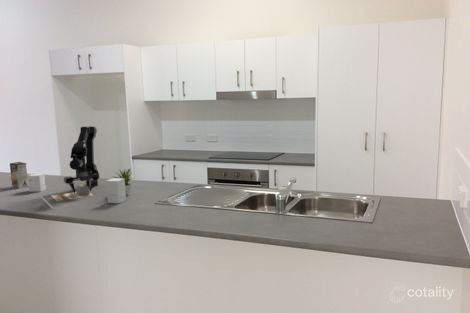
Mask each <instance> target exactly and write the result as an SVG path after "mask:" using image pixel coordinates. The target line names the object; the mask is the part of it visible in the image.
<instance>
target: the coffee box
mask: <svg viewBox="0 0 470 313" xmlns="http://www.w3.org/2000/svg"><path fill="white" fill-rule="evenodd" d="M9 170H10V177H11V178H10V179H11V180H10V181H11V187H12V188H16V189H23V188H24V189H25V188H29V185H28V172H27V170H28V169H27V162H22V161H17V162H10V163H9Z"/></svg>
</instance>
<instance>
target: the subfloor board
mask: <svg viewBox="0 0 470 313" xmlns="http://www.w3.org/2000/svg"><path fill="white" fill-rule="evenodd" d="M93 196H94V194H92V193H91V192H89V195H83V196H80V195H78V194H77V193H76V191H75V194H74V192H73V191H72V192H66V193H59V194H53V195H51V197H52V198H53V199H54V200H55V201H56V202H61V201H62V202H63V201H67V200H73V199H80V198H85V197H93Z"/></svg>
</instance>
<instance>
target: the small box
mask: <svg viewBox="0 0 470 313" xmlns="http://www.w3.org/2000/svg"><path fill="white" fill-rule="evenodd" d="M45 177H46V176H45V173H31V174H27V180H28V191H29V192H30V193H31V192H33V193H34V192H38V193H39V192H43V191H45V190H47V187H46V179H45Z"/></svg>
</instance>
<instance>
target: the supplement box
mask: <svg viewBox="0 0 470 313" xmlns="http://www.w3.org/2000/svg"><path fill="white" fill-rule="evenodd" d="M105 184H106V197H107V203H108V204H120V203H123V202H125V200H127V196H126V195H127V194H126V193H125V179H121V178H120V177H119V178H113V177H112V178H110V179H107V180H105Z"/></svg>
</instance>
